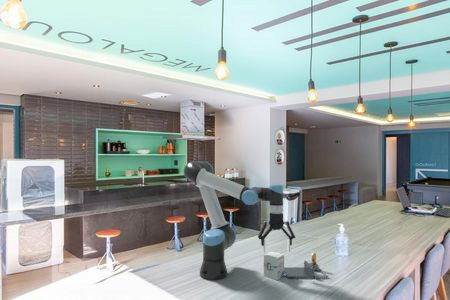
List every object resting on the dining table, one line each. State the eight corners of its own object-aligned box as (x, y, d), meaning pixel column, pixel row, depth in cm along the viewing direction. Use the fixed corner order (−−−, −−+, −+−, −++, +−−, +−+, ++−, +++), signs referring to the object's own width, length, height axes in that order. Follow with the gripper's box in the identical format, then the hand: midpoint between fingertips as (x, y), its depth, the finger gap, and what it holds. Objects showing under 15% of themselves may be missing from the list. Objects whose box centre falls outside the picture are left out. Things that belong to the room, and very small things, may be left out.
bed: (287, 278, 164) (287, 269, 164) (281, 269, 177) (281, 260, 177) (313, 278, 165) (313, 269, 165) (306, 269, 178) (306, 260, 178)
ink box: (271, 271, 174) (271, 250, 174) (284, 275, 169) (284, 254, 169) (263, 275, 168) (263, 254, 168) (276, 280, 162) (277, 258, 162)
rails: (315, 278, 164) (315, 275, 164) (305, 267, 180) (306, 265, 180) (328, 278, 165) (328, 275, 165) (318, 267, 181) (318, 265, 181)
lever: (311, 270, 175) (311, 254, 175) (309, 267, 179) (309, 252, 179) (318, 270, 176) (318, 254, 176) (315, 267, 180) (316, 252, 180)
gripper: (254, 214, 164) (254, 253, 164) (300, 213, 166) (301, 253, 165) (252, 211, 172) (252, 249, 171) (296, 211, 173) (297, 248, 173)
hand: (276, 251), depth 168 cm, fingers open, 13 cm apart
